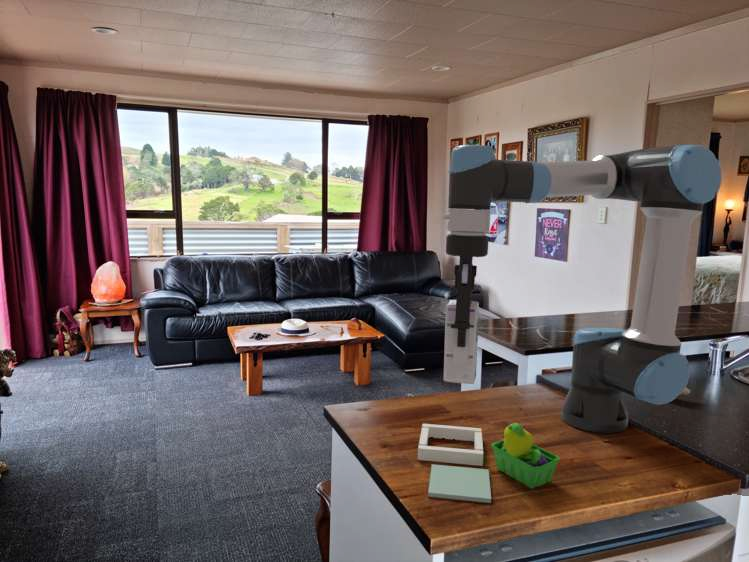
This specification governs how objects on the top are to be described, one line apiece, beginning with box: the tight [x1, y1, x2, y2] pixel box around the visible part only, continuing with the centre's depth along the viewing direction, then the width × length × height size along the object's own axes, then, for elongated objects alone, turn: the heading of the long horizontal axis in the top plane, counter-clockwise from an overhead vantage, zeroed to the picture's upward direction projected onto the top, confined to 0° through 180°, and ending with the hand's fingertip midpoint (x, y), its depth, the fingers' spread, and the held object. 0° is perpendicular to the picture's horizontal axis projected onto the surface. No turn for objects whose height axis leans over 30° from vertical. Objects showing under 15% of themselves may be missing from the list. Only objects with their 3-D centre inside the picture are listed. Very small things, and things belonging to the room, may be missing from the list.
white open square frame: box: [417, 423, 484, 467], centre depth 119 cm, size 13×13×2 cm
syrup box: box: [442, 299, 480, 385], centre depth 104 cm, size 6×6×14 cm
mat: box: [427, 463, 492, 504], centre depth 104 cm, size 11×11×1 cm
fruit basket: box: [491, 422, 561, 489], centre depth 108 cm, size 11×9×11 cm
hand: (460, 358), depth 104 cm, fingers closed on syrup box, 6 cm apart
